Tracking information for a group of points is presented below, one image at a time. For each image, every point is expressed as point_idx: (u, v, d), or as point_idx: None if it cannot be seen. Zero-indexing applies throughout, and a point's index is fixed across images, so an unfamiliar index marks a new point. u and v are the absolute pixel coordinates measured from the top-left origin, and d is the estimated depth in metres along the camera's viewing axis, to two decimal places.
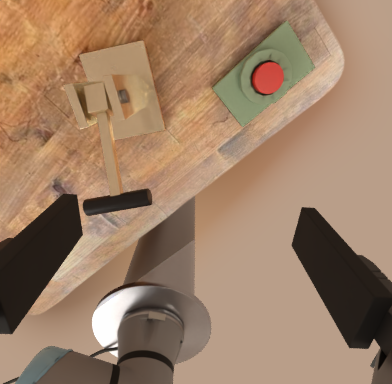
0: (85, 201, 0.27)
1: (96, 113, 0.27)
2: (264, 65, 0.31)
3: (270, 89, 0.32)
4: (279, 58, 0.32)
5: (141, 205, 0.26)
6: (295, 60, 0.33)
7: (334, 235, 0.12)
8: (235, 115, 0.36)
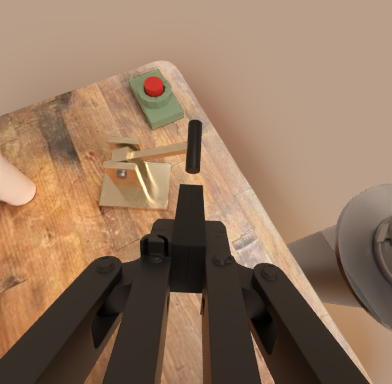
0: None
1: (129, 158, 0.35)
2: (145, 84, 0.49)
3: (160, 83, 0.49)
4: None
5: (199, 126, 0.33)
6: None
7: (199, 204, 0.14)
8: (173, 113, 0.50)
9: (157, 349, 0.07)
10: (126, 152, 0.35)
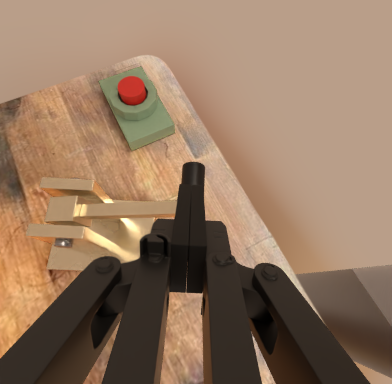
0: None
1: (78, 215, 0.21)
2: (118, 88, 0.34)
3: (140, 86, 0.34)
4: None
5: (201, 174, 0.20)
6: None
7: (199, 204, 0.14)
8: (160, 128, 0.36)
9: (156, 349, 0.07)
10: (73, 206, 0.21)
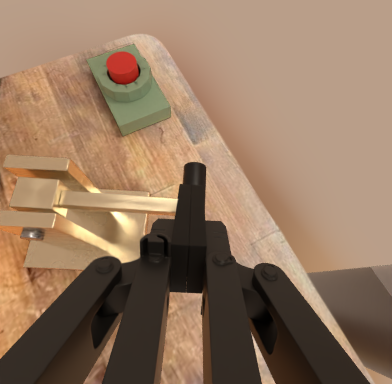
0: None
1: (58, 203, 0.18)
2: (107, 64, 0.30)
3: (131, 62, 0.31)
4: None
5: (204, 176, 0.20)
6: None
7: (199, 204, 0.14)
8: (155, 110, 0.32)
9: (157, 349, 0.07)
10: (53, 192, 0.17)
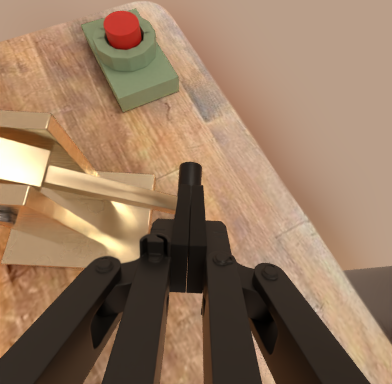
0: None
1: (43, 180, 0.14)
2: (105, 25, 0.26)
3: (133, 23, 0.26)
4: None
5: None
6: None
7: (199, 204, 0.14)
8: (160, 81, 0.27)
9: (156, 349, 0.07)
10: (43, 165, 0.13)
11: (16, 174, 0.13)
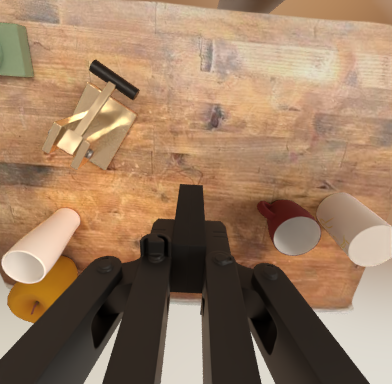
0: (132, 96, 0.37)
1: (80, 135, 0.34)
2: None
3: None
4: None
5: None
6: None
7: (199, 204, 0.14)
8: (17, 40, 0.37)
9: (157, 349, 0.07)
10: (74, 133, 0.34)
11: (76, 143, 0.34)
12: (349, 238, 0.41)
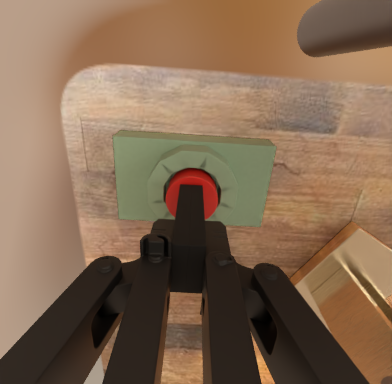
0: None
1: None
2: None
3: None
4: (156, 202, 0.18)
5: None
6: (135, 169, 0.19)
7: (199, 204, 0.14)
8: (268, 172, 0.19)
9: (157, 349, 0.07)
10: None
11: None
12: None
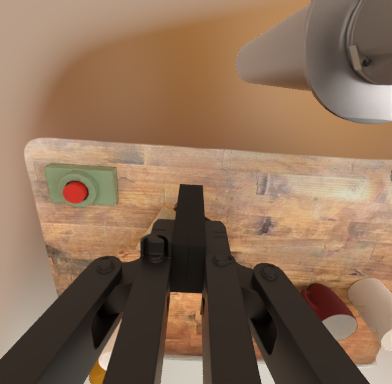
0: None
1: None
2: (72, 202, 0.44)
3: (75, 188, 0.43)
4: (62, 194, 0.45)
5: None
6: (55, 180, 0.46)
7: (199, 204, 0.14)
8: (112, 181, 0.46)
9: (157, 349, 0.07)
10: None
11: None
12: (382, 332, 0.49)
